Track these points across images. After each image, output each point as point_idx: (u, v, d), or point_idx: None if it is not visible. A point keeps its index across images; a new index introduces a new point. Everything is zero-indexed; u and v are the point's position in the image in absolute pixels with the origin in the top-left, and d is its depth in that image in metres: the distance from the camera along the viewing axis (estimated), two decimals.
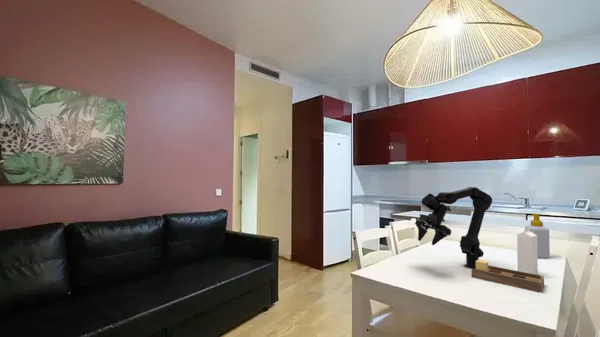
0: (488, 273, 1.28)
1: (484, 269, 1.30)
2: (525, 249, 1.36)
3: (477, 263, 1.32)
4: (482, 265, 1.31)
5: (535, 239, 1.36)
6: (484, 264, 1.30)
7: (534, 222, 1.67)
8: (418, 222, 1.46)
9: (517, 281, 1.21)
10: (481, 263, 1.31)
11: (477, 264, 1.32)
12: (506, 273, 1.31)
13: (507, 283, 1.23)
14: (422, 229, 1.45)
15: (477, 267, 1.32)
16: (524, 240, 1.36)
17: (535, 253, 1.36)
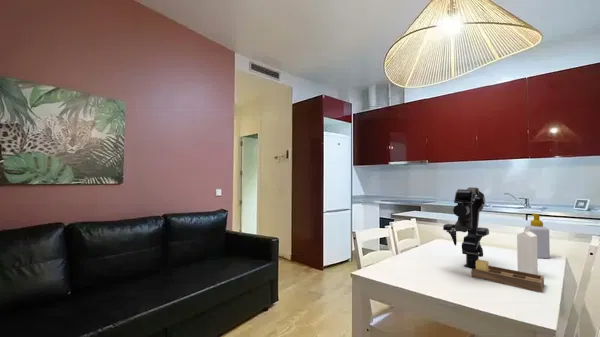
0: (488, 273, 1.28)
1: (484, 269, 1.30)
2: (525, 249, 1.36)
3: (477, 263, 1.32)
4: (482, 265, 1.31)
5: (535, 239, 1.36)
6: (484, 264, 1.30)
7: (534, 222, 1.67)
8: (448, 228, 1.41)
9: (517, 281, 1.21)
10: (481, 263, 1.31)
11: (477, 264, 1.32)
12: (506, 273, 1.31)
13: (507, 283, 1.23)
14: (454, 233, 1.41)
15: (477, 267, 1.32)
16: (524, 240, 1.36)
17: (535, 253, 1.36)
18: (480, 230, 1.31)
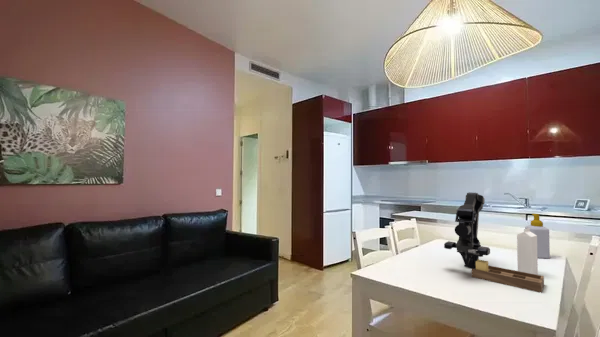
0: (488, 273, 1.28)
1: (484, 269, 1.30)
2: (525, 249, 1.36)
3: (477, 263, 1.32)
4: (482, 265, 1.31)
5: (535, 239, 1.36)
6: (484, 264, 1.30)
7: (534, 222, 1.67)
8: (449, 246, 1.40)
9: (517, 281, 1.21)
10: (481, 263, 1.31)
11: (477, 264, 1.32)
12: (506, 273, 1.31)
13: (507, 283, 1.23)
14: (464, 253, 1.38)
15: (477, 267, 1.32)
16: (524, 240, 1.36)
17: (535, 253, 1.36)
18: (481, 250, 1.31)
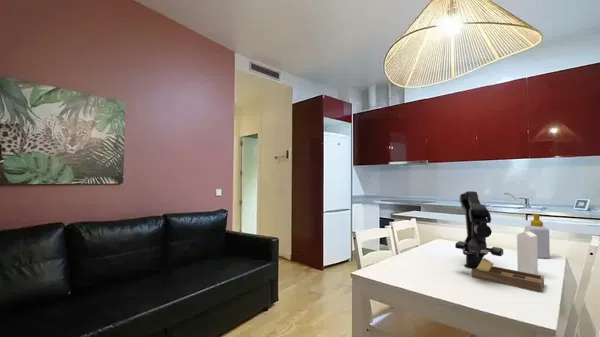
0: (488, 273, 1.28)
1: (486, 269, 1.30)
2: (525, 249, 1.36)
3: (482, 262, 1.31)
4: (486, 265, 1.30)
5: (535, 239, 1.36)
6: (489, 265, 1.29)
7: (534, 222, 1.67)
8: (460, 246, 1.37)
9: (517, 281, 1.21)
10: (486, 263, 1.30)
11: (481, 262, 1.31)
12: (506, 273, 1.31)
13: (507, 283, 1.23)
14: (477, 253, 1.34)
15: (480, 265, 1.31)
16: (524, 240, 1.36)
17: (535, 253, 1.36)
18: (495, 250, 1.27)
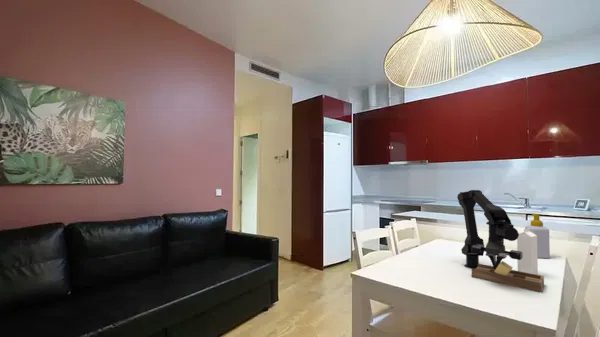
0: (488, 273, 1.28)
1: (504, 273, 1.25)
2: (525, 249, 1.36)
3: (500, 265, 1.26)
4: (504, 269, 1.25)
5: (535, 239, 1.36)
6: (507, 269, 1.24)
7: (534, 222, 1.67)
8: (477, 249, 1.32)
9: (517, 281, 1.21)
10: (505, 267, 1.25)
11: (499, 266, 1.26)
12: None
13: (507, 283, 1.23)
14: (494, 256, 1.29)
15: (498, 268, 1.27)
16: (524, 240, 1.36)
17: (535, 253, 1.36)
18: (514, 254, 1.22)
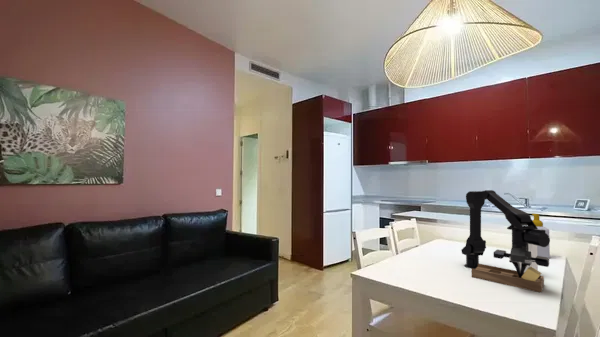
0: (488, 273, 1.28)
1: (533, 279, 1.18)
2: None
3: (528, 271, 1.19)
4: (533, 275, 1.18)
5: None
6: (536, 275, 1.17)
7: (534, 222, 1.67)
8: (500, 256, 1.25)
9: (517, 281, 1.21)
10: (533, 273, 1.18)
11: (527, 271, 1.19)
12: (506, 273, 1.31)
13: (507, 283, 1.23)
14: (518, 263, 1.23)
15: (526, 274, 1.19)
16: None
17: (535, 253, 1.36)
18: (540, 260, 1.16)
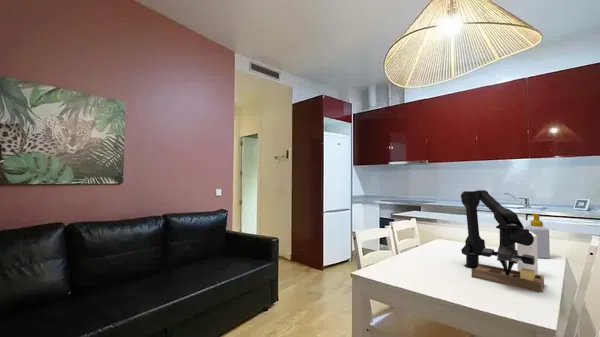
0: (488, 273, 1.28)
1: (530, 279, 1.18)
2: (525, 249, 1.36)
3: (522, 272, 1.20)
4: (528, 274, 1.19)
5: (535, 239, 1.36)
6: (530, 273, 1.18)
7: (534, 222, 1.67)
8: (488, 254, 1.29)
9: (517, 281, 1.21)
10: (527, 272, 1.19)
11: (521, 273, 1.21)
12: None
13: (507, 283, 1.23)
14: (505, 261, 1.26)
15: (522, 276, 1.21)
16: None
17: (535, 253, 1.36)
18: (526, 258, 1.19)
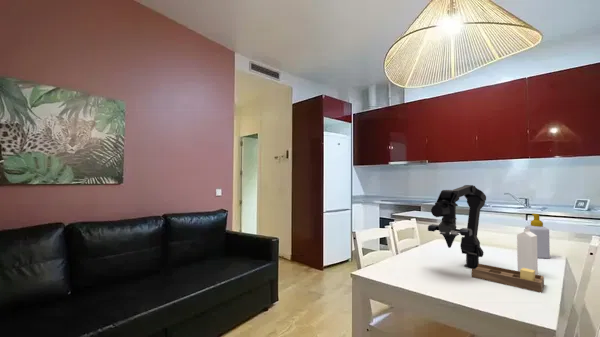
0: (488, 273, 1.28)
1: (530, 279, 1.18)
2: (525, 249, 1.36)
3: (522, 272, 1.20)
4: (528, 274, 1.19)
5: (535, 239, 1.36)
6: (530, 273, 1.18)
7: (534, 222, 1.67)
8: (432, 229, 1.41)
9: (517, 281, 1.21)
10: (527, 272, 1.19)
11: (521, 273, 1.21)
12: (506, 273, 1.31)
13: (507, 283, 1.23)
14: (447, 235, 1.38)
15: (522, 276, 1.21)
16: (524, 240, 1.36)
17: (535, 253, 1.36)
18: (463, 231, 1.31)
